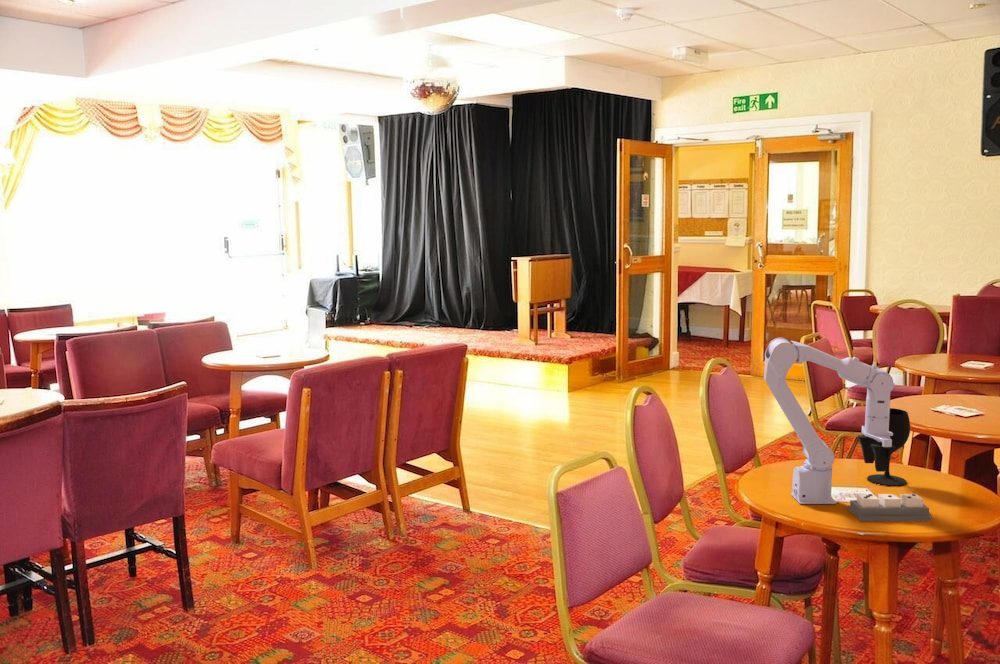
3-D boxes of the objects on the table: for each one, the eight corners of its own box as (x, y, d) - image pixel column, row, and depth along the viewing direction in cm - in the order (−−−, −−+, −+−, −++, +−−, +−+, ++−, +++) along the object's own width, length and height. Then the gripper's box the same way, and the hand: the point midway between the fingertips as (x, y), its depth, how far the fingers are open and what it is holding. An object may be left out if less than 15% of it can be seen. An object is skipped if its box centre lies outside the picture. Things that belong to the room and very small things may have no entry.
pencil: (909, 495, 240) (929, 519, 222) (911, 491, 240) (931, 516, 222) (912, 496, 240) (932, 521, 222) (914, 493, 240) (935, 518, 221)
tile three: (862, 508, 223) (863, 498, 222) (856, 503, 226) (856, 493, 226) (878, 508, 222) (879, 498, 222) (872, 503, 226) (872, 493, 226)
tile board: (861, 521, 220) (862, 510, 220) (847, 509, 229) (848, 498, 229) (931, 521, 220) (931, 510, 220) (914, 508, 229) (915, 498, 229)
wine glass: (900, 476, 257) (904, 407, 254) (911, 487, 246) (916, 416, 244) (862, 474, 258) (866, 406, 255) (872, 486, 248) (875, 415, 245)
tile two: (906, 508, 222) (907, 498, 222) (899, 503, 226) (900, 493, 226) (922, 508, 222) (923, 498, 222) (915, 503, 226) (916, 493, 226)
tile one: (884, 508, 222) (885, 498, 222) (877, 503, 226) (878, 493, 226) (900, 508, 222) (901, 498, 222) (893, 503, 226) (894, 493, 226)
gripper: (905, 422, 224) (902, 475, 226) (881, 409, 239) (878, 459, 240) (876, 422, 224) (873, 475, 226) (854, 409, 239) (852, 459, 241)
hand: (874, 467), depth 233 cm, fingers open, 7 cm apart
